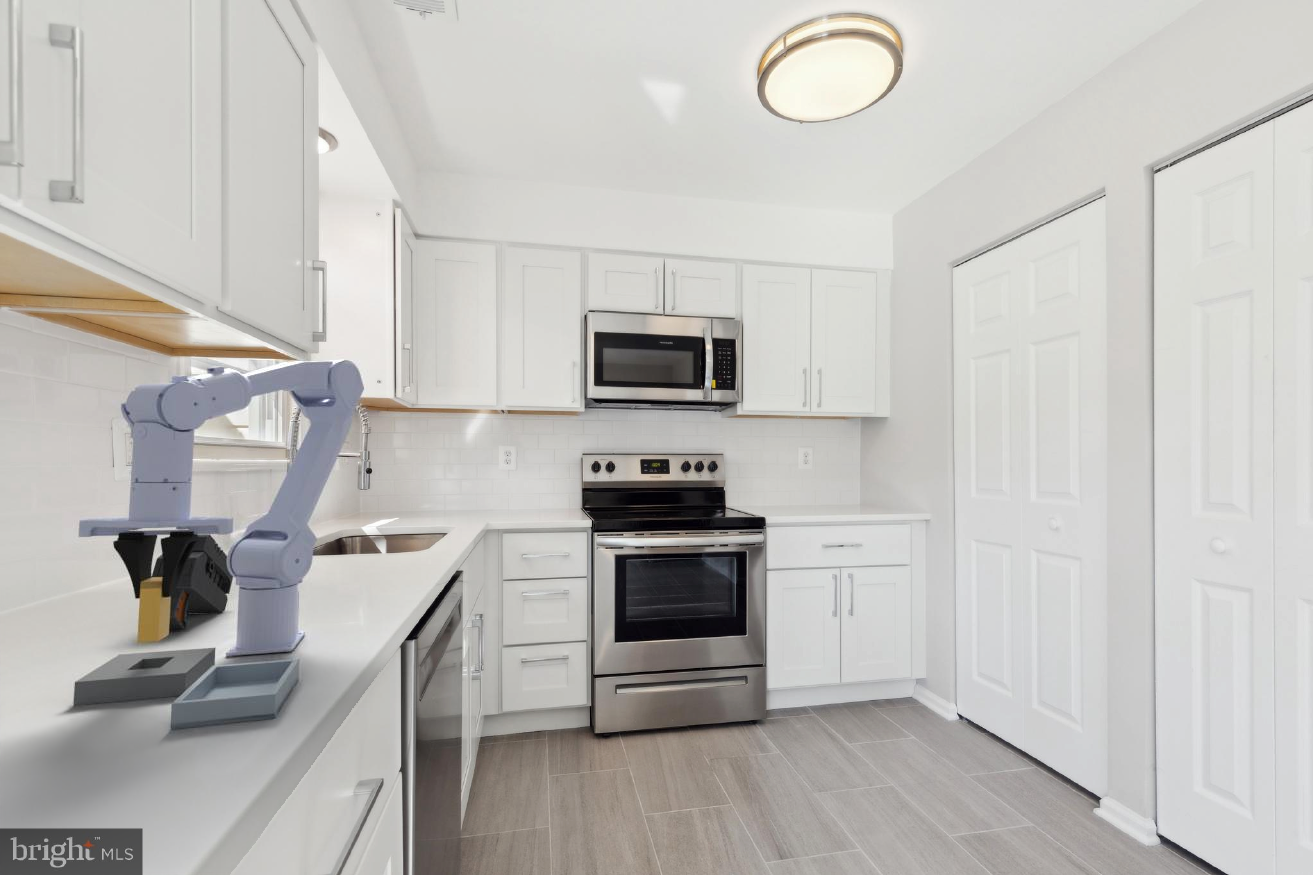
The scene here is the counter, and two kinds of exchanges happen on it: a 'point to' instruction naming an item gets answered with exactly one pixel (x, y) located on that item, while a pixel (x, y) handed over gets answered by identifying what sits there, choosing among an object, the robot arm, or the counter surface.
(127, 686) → the socket block
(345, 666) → the counter surface
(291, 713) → the counter surface
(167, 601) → the block
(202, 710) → the parts tray
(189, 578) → the tool
